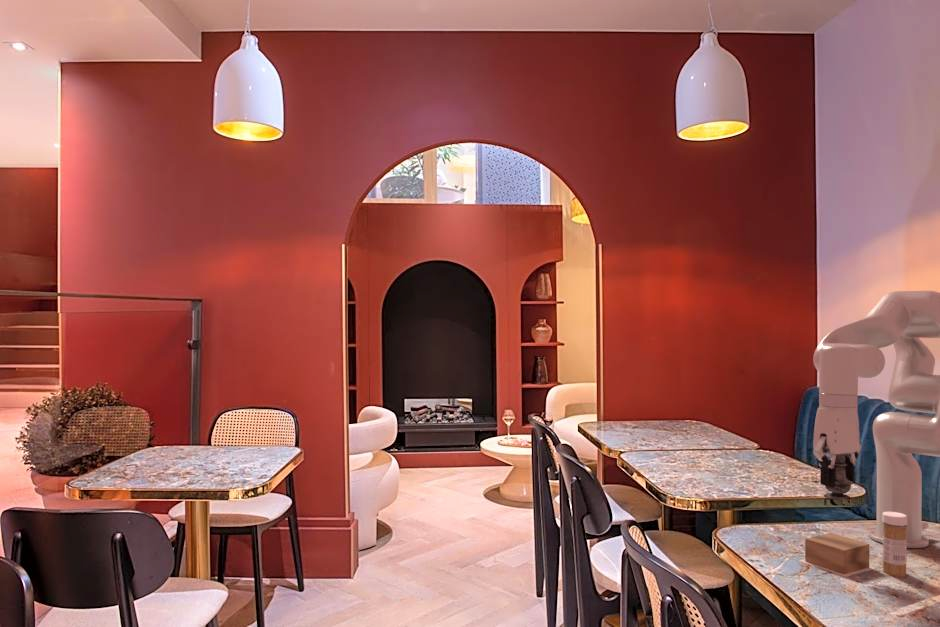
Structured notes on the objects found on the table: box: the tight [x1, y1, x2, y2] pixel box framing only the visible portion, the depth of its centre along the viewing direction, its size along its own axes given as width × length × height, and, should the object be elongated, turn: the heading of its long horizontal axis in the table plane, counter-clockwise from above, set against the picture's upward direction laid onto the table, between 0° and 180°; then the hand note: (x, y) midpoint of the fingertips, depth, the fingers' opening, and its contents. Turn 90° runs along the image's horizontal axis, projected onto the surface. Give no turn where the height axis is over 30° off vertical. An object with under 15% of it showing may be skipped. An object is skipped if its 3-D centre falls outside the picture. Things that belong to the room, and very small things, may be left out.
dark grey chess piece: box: [823, 454, 853, 501], centre depth 155 cm, size 6×6×12 cm
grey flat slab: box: [798, 558, 877, 578], centre depth 155 cm, size 16×12×1 cm
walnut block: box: [804, 532, 870, 574], centre depth 155 cm, size 9×9×5 cm
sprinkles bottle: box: [882, 512, 908, 578], centre depth 150 cm, size 5×5×14 cm
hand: (837, 483), depth 155 cm, fingers closed on dark grey chess piece, 5 cm apart
